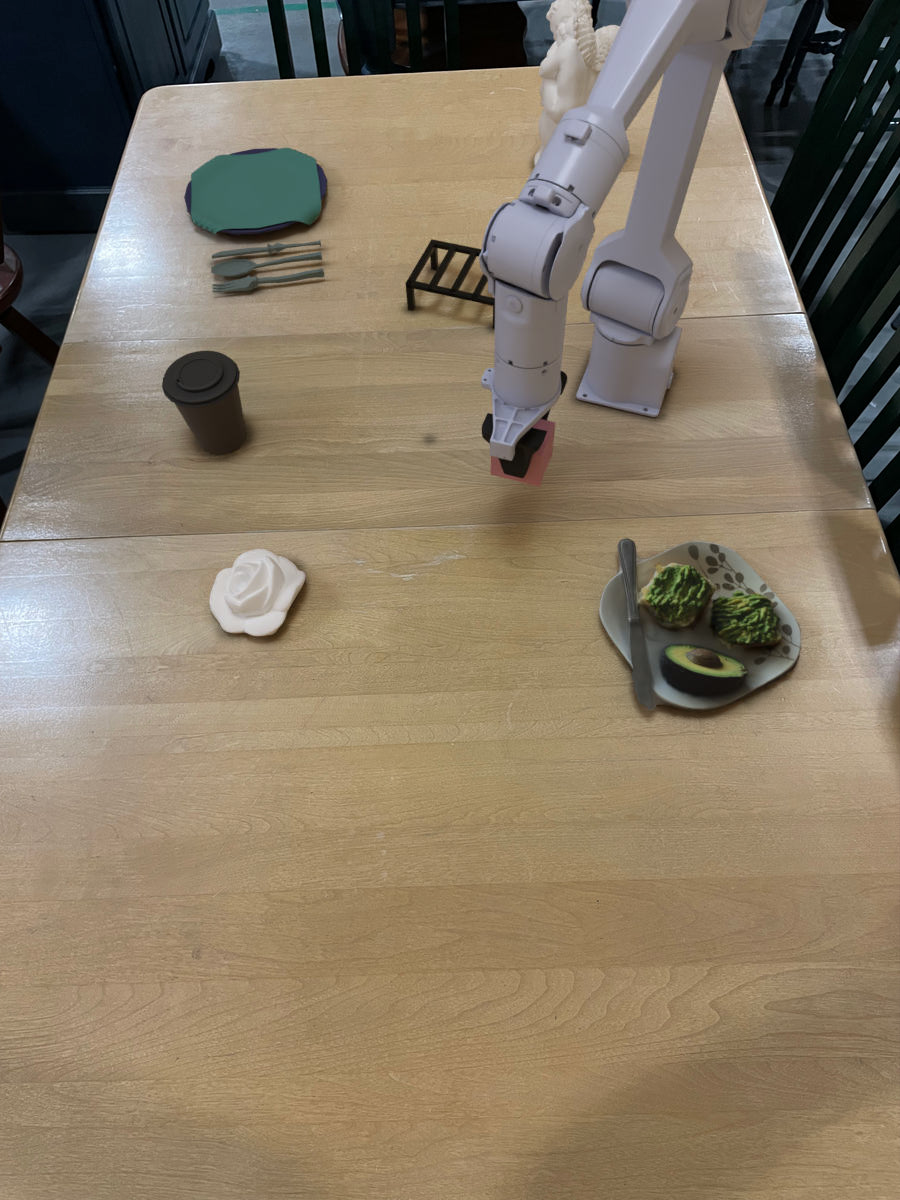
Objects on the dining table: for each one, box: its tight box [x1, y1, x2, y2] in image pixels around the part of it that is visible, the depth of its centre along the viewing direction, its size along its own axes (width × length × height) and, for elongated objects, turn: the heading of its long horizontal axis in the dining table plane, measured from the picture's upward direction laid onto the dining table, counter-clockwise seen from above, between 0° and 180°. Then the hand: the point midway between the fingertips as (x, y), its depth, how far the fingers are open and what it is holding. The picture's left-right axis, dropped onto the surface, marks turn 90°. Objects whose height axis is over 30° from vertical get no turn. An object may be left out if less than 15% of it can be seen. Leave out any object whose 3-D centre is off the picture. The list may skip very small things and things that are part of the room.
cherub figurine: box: [533, 0, 621, 166], centre depth 112 cm, size 12×12×22 cm
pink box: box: [490, 419, 556, 488], centre depth 81 cm, size 5×4×4 cm
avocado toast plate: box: [598, 537, 802, 713], centre depth 79 cm, size 19×18×5 cm
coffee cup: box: [161, 350, 247, 456], centre depth 92 cm, size 8×8×10 cm
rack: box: [405, 238, 495, 330], centre depth 105 cm, size 12×9×4 cm
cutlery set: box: [183, 147, 328, 294], centre depth 116 cm, size 20×30×2 cm, turn 9°
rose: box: [208, 548, 307, 637], centre depth 82 cm, size 10×4×10 cm
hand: (522, 454), depth 82 cm, fingers closed on pink box, 4 cm apart
